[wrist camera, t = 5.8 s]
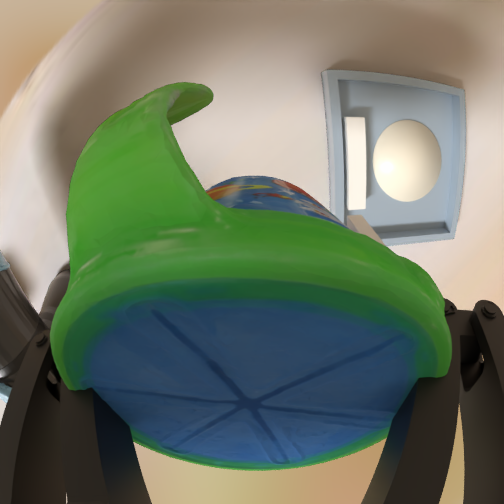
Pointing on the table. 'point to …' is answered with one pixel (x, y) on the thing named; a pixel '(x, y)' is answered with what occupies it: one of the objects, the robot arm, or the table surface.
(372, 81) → the meal tray
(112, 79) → the table surface
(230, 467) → the snack cup
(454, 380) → the robot arm
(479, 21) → the table surface
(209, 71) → the table surface
